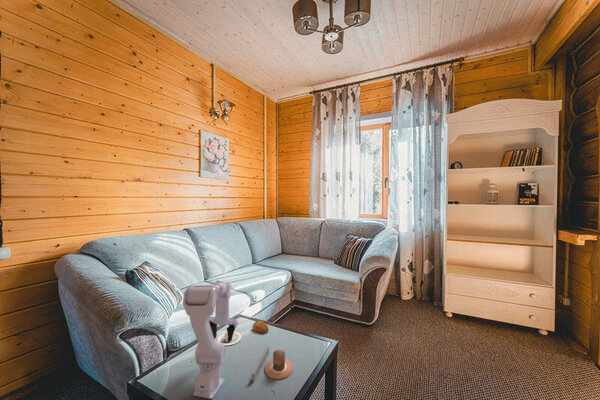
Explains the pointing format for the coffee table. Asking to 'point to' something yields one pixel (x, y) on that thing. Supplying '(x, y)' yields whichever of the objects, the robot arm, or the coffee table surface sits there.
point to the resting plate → (278, 374)
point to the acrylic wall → (260, 363)
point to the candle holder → (227, 338)
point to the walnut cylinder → (278, 360)
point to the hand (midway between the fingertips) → (222, 339)
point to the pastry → (260, 327)
